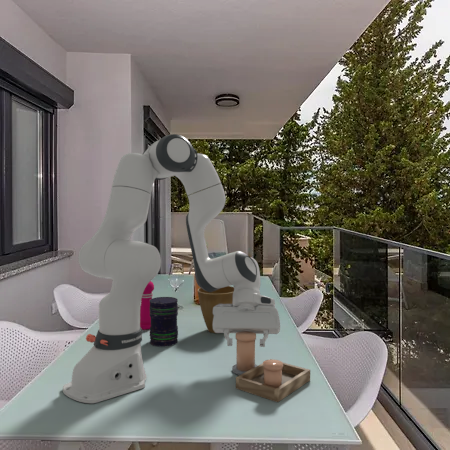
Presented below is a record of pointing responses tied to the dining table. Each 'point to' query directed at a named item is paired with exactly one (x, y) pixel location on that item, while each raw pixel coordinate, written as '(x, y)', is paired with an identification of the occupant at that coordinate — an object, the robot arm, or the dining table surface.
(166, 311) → the storage jar
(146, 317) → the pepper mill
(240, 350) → the tall pot
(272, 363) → the small pot
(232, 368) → the grey disc
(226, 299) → the plant pot
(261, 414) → the dining table surface
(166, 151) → the robot arm
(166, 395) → the dining table surface
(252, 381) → the wooden tray
